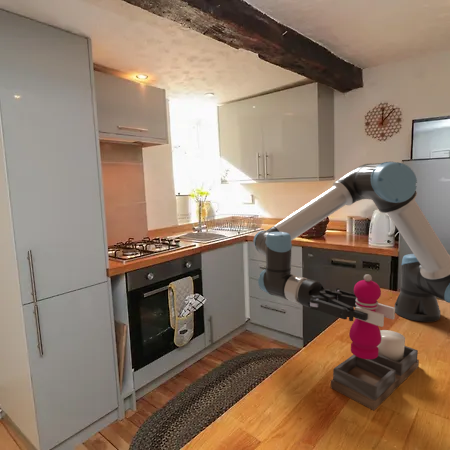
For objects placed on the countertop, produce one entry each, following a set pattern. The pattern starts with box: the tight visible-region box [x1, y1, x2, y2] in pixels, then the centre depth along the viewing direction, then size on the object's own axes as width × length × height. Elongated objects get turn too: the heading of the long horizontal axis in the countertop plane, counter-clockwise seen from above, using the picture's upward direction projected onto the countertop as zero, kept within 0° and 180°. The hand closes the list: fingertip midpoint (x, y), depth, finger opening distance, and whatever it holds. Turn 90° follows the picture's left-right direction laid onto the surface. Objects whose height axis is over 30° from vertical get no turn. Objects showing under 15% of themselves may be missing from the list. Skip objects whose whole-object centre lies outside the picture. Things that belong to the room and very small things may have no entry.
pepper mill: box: [348, 273, 382, 359], centre depth 80 cm, size 7×7×20 cm
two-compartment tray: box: [330, 345, 420, 411], centre depth 87 cm, size 26×11×5 cm, turn 130°
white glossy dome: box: [377, 329, 406, 363], centre depth 91 cm, size 7×7×7 cm
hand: (388, 317), depth 76 cm, fingers closed on pepper mill, 5 cm apart
